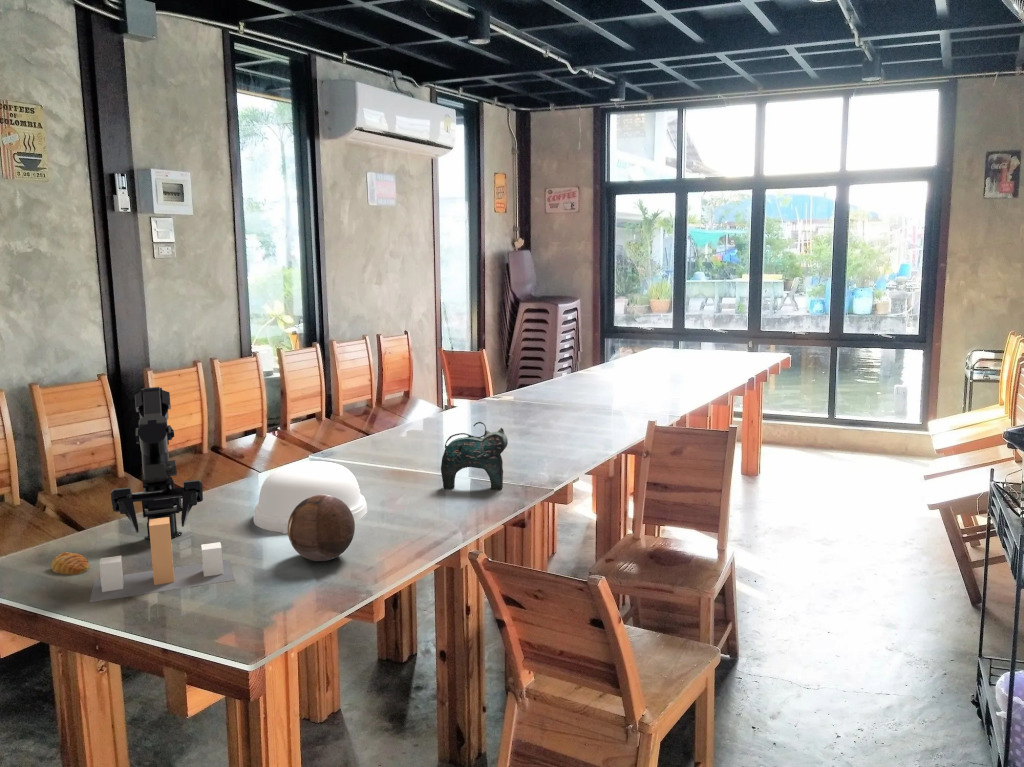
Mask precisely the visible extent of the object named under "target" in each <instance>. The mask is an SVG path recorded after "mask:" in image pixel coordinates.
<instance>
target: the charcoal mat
mask: <svg viewBox="0 0 1024 767" xmlns="http://www.w3.org/2000/svg"><path fill="white" fill-rule="evenodd" d="M222 561H223V574H219V575H212V576H206V577H204V573H203V562H202V563H196V564H191V565H184V566H175V567H173V569H174V582H171V583H164V584H158V585H154V578H153V570H149V571H141V572H140V571H139V572H134V573H127V574H123V580H124V585H123V589H119V590H112V591H105V592H102V586H101V577H99V578H94V580H93V585H92V590H91V595H90V599H89V603H95V602H101V601H107V600H113V599H114V600H115V599H121V598H128V597H129V598H130V597H135V596H141V595H149V594H154V593H160V592H165V591H166V592H167V591H174V590H182V589H187V588H194V587H199V586H206V585H207V586H208V585H213V584H219V583H225V582H226V583H228V582H234V581H235V576H234V572H233V568H232V564H231V560H230V559H224V560H223V559H222Z"/></svg>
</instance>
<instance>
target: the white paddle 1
mask: <svg viewBox="0 0 1024 767" xmlns="http://www.w3.org/2000/svg"><path fill="white" fill-rule="evenodd" d="M122 560H123V559H122V555H115V556H108V557H101V558H100V560H99V563H98V564H99V575H100V578H101V586H102V592H105V591H112V590H119V589H123V585H124V580H123V575H124V572H123V571H124V569H123V561H122Z"/></svg>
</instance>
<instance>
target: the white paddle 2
mask: <svg viewBox="0 0 1024 767" xmlns="http://www.w3.org/2000/svg"><path fill="white" fill-rule="evenodd" d="M200 546H201V559H202V560H201V561H202V563H203V573H204V577H206V576H212V575H219V574H223V551H222V550H223V548H222V544H221V541H218V542H212V543H205V544H204V543H203V544H200Z"/></svg>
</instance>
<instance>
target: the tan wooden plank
mask: <svg viewBox="0 0 1024 767" xmlns="http://www.w3.org/2000/svg"><path fill="white" fill-rule="evenodd" d="M149 531H150V540H149V541H150V542H149V543H150V551H151V554H150V555H151V562H152V563H151V564H152V571H153V578H154V585H158V584H164V583H171V582H174V569H173V568H174V561H173V559H174V558H173V547H172V538H171V533H170V521H169V517H165V518H157V519H149Z"/></svg>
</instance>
